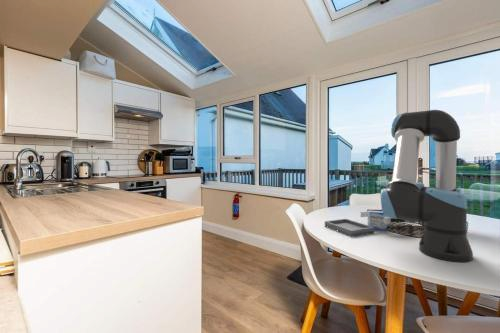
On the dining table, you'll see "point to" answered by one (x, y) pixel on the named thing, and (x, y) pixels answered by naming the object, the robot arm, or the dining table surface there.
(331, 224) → the parts tray
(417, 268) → the dining table surface
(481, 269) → the dining table surface
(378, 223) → the medicine box
